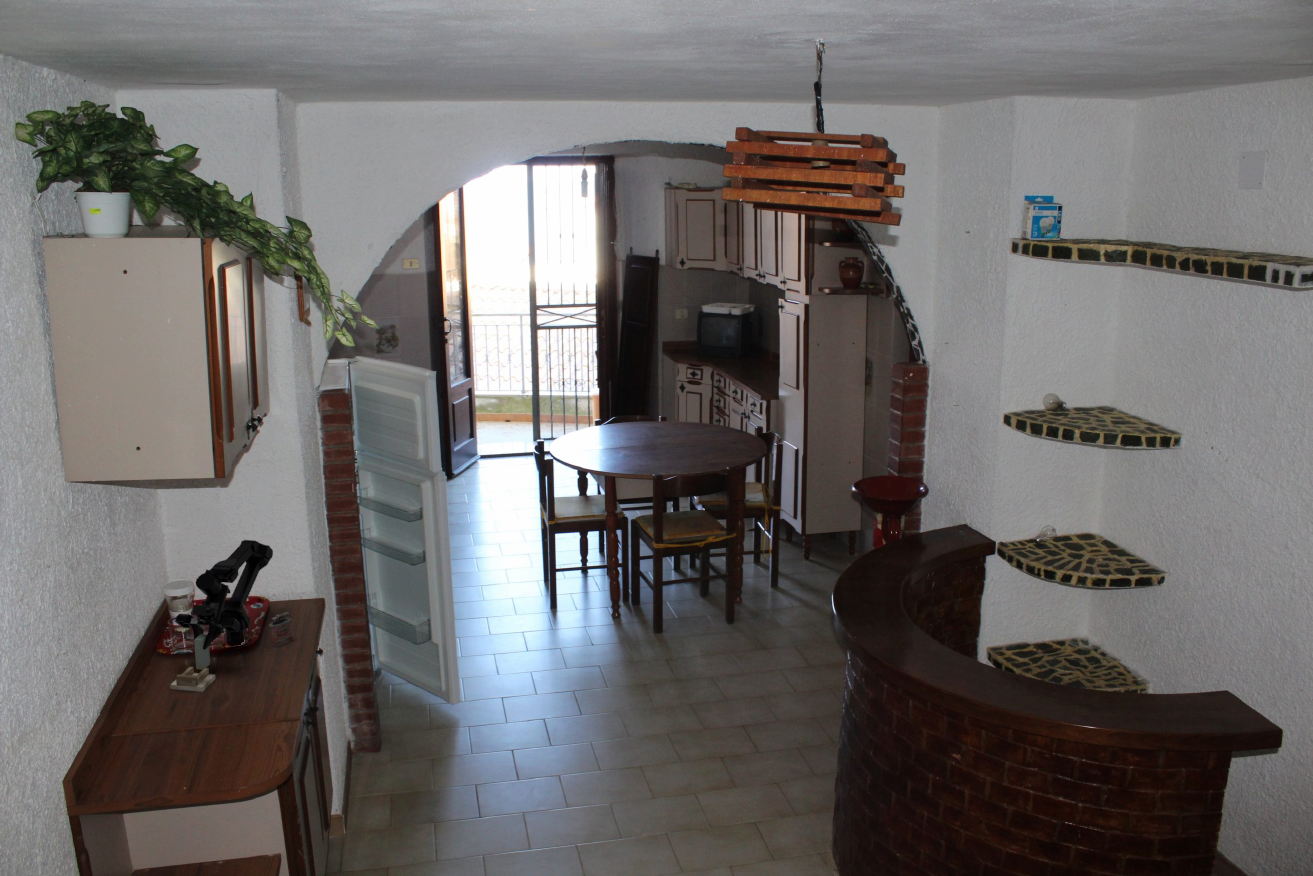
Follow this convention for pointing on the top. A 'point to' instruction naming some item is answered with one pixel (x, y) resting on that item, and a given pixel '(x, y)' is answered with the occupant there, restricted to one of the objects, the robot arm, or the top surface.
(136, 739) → the top surface
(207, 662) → the plank
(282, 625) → the lighter
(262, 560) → the robot arm
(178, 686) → the groove base
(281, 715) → the top surface
